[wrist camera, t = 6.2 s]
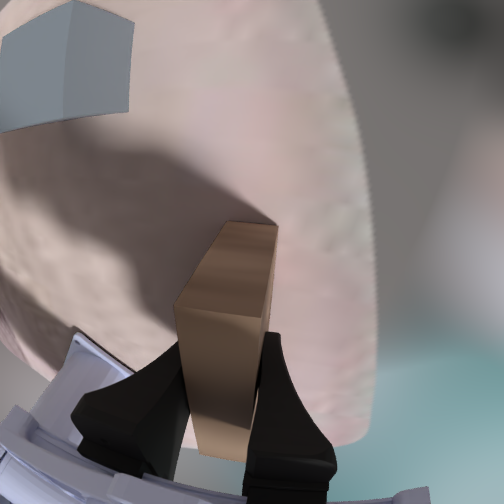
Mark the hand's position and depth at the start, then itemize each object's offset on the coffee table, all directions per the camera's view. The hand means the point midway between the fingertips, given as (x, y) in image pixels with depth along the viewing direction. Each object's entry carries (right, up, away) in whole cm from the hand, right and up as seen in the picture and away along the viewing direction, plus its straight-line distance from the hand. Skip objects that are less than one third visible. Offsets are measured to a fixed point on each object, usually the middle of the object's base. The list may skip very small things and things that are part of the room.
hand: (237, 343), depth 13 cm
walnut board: (0, +1, +3) cm, 3 cm away
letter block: (-8, +14, -1) cm, 16 cm away
